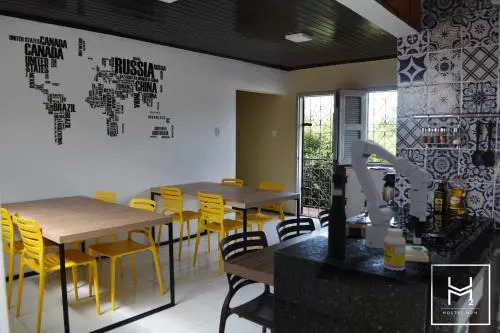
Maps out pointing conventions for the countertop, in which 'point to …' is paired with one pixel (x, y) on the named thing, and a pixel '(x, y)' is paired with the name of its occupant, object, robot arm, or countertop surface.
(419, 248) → the tensioner block
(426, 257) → the tray
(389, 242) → the supplement bottle
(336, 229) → the wine bottle
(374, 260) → the countertop surface
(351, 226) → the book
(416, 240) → the spice jar
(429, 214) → the robot arm
